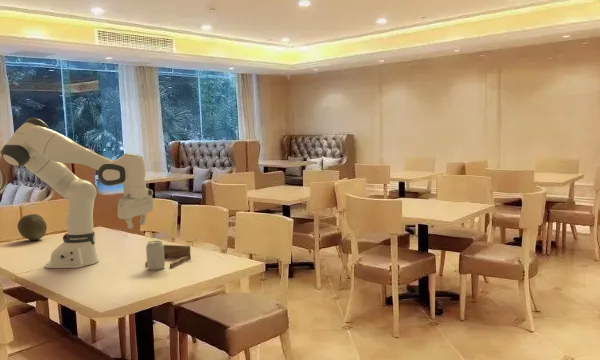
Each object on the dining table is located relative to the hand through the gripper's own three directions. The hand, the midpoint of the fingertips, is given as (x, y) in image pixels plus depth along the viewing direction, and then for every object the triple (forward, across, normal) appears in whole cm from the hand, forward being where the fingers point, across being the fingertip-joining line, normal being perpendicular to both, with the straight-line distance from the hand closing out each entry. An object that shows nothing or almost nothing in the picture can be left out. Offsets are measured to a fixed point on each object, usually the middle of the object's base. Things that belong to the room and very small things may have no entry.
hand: (136, 226), depth 209 cm
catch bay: (+21, +24, 0) cm, 32 cm away
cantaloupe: (+22, +52, +102) cm, 117 cm away
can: (+21, +13, 0) cm, 25 cm away
